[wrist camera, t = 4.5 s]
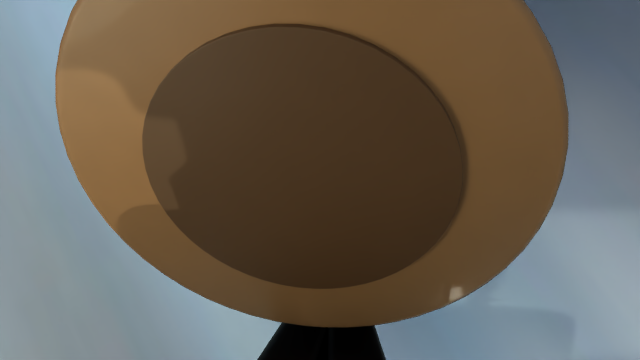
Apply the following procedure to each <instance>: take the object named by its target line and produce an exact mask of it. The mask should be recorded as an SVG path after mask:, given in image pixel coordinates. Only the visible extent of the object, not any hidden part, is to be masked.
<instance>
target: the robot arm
mask: <svg viewBox="0 0 640 360" xmlns="http://www.w3.org/2000/svg"><path fill="white" fill-rule="evenodd" d="M257 360H386V359H385V356H384V353H383V350H382V347H381V344H380V341H379V337H378V334H377V331H376V328H375V325H373V326H362V327H349V328H337V327H313V326H302V325H295V324H289V323H283V322H282V323H281V325H280V326H279V328H278V329H277V331H276V332H275V334H274V335H273V337H272V338H271V340H270V341H269V343H268V344H267V346H266V347H265V349H264V350H263V352H262V353H261V355H260V356H259V358H258V359H257Z"/></svg>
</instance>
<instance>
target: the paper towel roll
mask: <svg viewBox="0 0 640 360" xmlns="http://www.w3.org/2000/svg"><path fill="white" fill-rule="evenodd" d="M56 108H57V114H58V121H59V127H60V132H61V135H62V138H63V142H64V145H65V148H66V152H67V155H68V158H69V160H70V162H71V164H72V167H73V169H74V171H75V173H76V175H77V178H78V180H79V182H80V183H81V185H82V187H83V188H84V190H85V192H86V193H87V195H88V197H89V199H90V200H91V202H92V203H93V205H94V206H95V207H96V209H97V210H98V211H99V213H100V214H101V215H102V217H103V218H104V219H105V221H106V222H107V223H108V224H109V226H110V227H111V228H112V229H113V230H114V231H115V232H116V233H117V234H118V235H119V236H120V237H121V239H122V240H123V241H124V242H125V243H126V244H127V245H129V246H130V247H131V248H132V249H133V250H134V251H135V252H136V253H137V254H139V255H140V256H141V257H142V258H143V259H144V260H146V261H147V262H148V263H150V264H151V265H152V266H154V267H155V268H156V269H158V270H159V271H160V272H162V273H163V274H164V275H166V276H168V277H169V278H171V279H172V280H174V281H176V282H177V283H179V284H180V285H182V286H184V287H185V288H187V289H189V290H191V291H193V292H195V293H197V294H199V295H201V296H203V297H205V298H207V299H209V300H211V301H214V302H216V303H219V304H221V305H223V306H226V307H228V308H231V309H234V310H237V311H240V312H243V313H246V314H249V315H252V316H256V317H260V318H264V319H268V320H272V321H277V322H283V323H289V324H295V325H302V326H313V327H337V328H349V327H362V326H373V325H380V324H386V323H392V322H397V321H401V320H405V319H409V318H413V317H417V316H420V315H423V314H426V313H429V312H432V311H434V310H437V309H440V308H443V307H445V306H447V305H449V304H451V303H453V302H455V301H457V300H460V299H462V298H464V297H466V296H467V295H469V294H470V293H472V292H474V291H475V290H477V289H479V288H480V287H482V286H483V285H485V284H486V283H488V282H489V281H490V280H492V279H493V278H494V277H495V276H497V275H498V274H499V273H500V272H502V271H503V270H504V269H505V268H507V266H508V265H509V264H510V263H511V262H512V261H513V260H514V259H515V258H516V257H517V256H518V255H519V254H520V253H521V252H522V251H523V250H524V249H525V248H526V246H527V245H528V244H529V242H530V241H531V240H532V238H533V237H534V236H535V234H536V233H537V232H538V230H539V229H540V227H541V225H542V223H543V222H544V220H545V218H546V216H547V214H548V212H549V210H550V209H551V207H552V205H553V202H554V199H555V197H556V194H557V191H558V188H559V185H560V182H561V180H562V176H563V172H564V166H565V160H566V155H567V149H568V108H567V102H566V95H565V89H564V83H563V79H562V76H561V73H560V70H559V67H558V65H557V62H556V59H555V56H554V53H553V50H552V47H551V45H550V43H549V42H548V40H547V38H546V36H545V34H544V32H543V31H542V29H541V27H540V25H539V23H538V22H537V20H536V18H535V16H534V14H533V13H532V11H531V10H530V8H529V7H528V6H527V4H526V3H525V2H524V0H77V2H76V4H75V5H74V7H73V9H72V11H71V13H70V16H69V19H68V22H67V25H66V28H65V31H64V34H63V37H62V40H61V43H60V49H59V55H58V61H57V68H56Z"/></svg>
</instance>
